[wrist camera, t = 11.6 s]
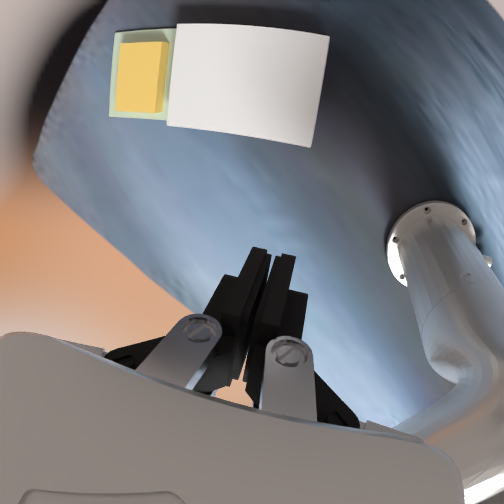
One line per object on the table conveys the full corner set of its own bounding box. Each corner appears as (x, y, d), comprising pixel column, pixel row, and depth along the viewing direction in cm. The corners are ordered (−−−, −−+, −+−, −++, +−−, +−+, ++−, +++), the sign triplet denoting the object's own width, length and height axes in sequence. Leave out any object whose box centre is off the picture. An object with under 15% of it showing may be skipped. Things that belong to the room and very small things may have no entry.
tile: (120, 43, 31) (129, 44, 33) (115, 111, 36) (123, 109, 37) (162, 41, 30) (169, 42, 32) (154, 113, 35) (162, 111, 37)
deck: (329, 42, 29) (329, 36, 26) (312, 141, 35) (310, 147, 32) (191, 28, 31) (177, 23, 28) (181, 121, 37) (166, 125, 34)
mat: (189, 28, 31) (188, 28, 31) (179, 120, 37) (178, 121, 37) (117, 33, 32) (115, 32, 32) (110, 116, 39) (109, 116, 38)
